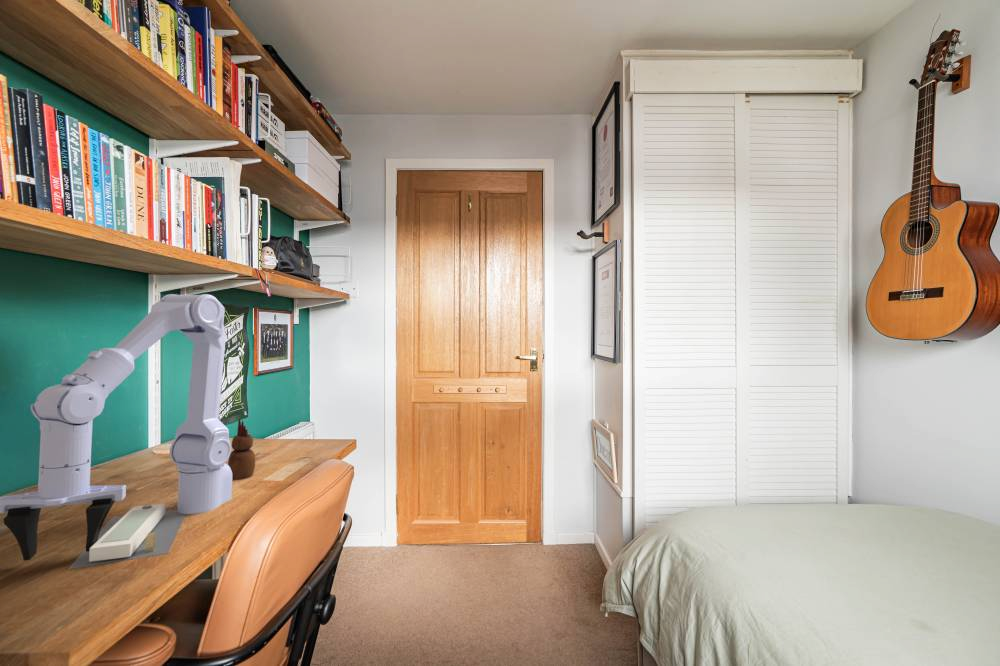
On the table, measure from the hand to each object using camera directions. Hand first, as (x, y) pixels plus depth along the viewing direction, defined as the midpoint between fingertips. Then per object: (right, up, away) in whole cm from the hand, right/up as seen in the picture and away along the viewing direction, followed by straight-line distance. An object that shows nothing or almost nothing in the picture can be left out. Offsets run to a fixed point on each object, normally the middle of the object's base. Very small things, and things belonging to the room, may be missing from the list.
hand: (61, 552), depth 69 cm
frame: (+4, -1, +9) cm, 9 cm away
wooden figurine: (+2, -3, +43) cm, 43 cm away
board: (+4, -3, +10) cm, 11 cm away
